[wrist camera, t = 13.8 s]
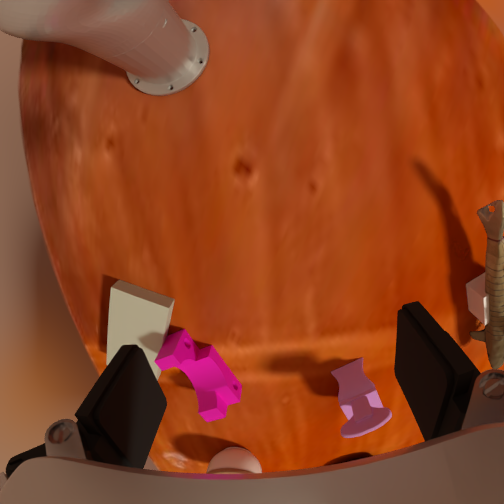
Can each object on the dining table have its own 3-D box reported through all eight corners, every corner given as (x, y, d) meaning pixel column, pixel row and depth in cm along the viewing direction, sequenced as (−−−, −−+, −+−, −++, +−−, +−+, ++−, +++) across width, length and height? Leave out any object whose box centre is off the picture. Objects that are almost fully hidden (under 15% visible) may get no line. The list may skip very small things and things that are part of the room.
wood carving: (479, 180, 38) (522, 189, 27) (496, 338, 47) (523, 366, 36) (440, 199, 40) (482, 213, 29) (465, 358, 48) (490, 390, 38)
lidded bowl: (273, 461, 60) (272, 497, 49) (228, 470, 62) (223, 504, 51) (247, 435, 56) (243, 475, 46) (199, 445, 59) (190, 482, 48)
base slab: (120, 278, 47) (111, 287, 44) (175, 298, 47) (169, 308, 44) (114, 354, 52) (106, 364, 49) (161, 372, 53) (155, 383, 49)
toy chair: (340, 401, 52) (354, 461, 38) (325, 373, 50) (338, 437, 36) (379, 384, 51) (402, 441, 36) (367, 354, 48) (392, 414, 34)
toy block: (242, 384, 52) (238, 413, 45) (213, 393, 53) (207, 422, 46) (197, 322, 48) (186, 349, 41) (167, 335, 49) (153, 361, 42)
